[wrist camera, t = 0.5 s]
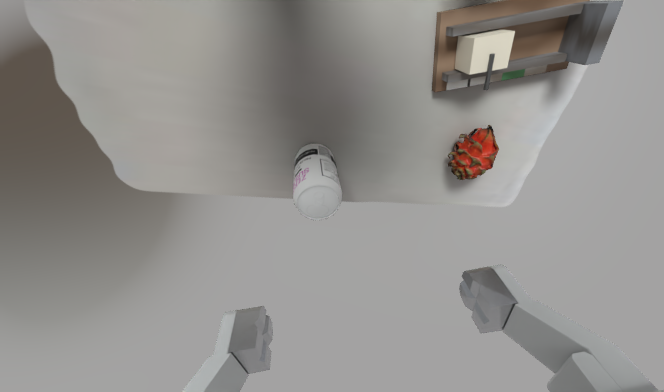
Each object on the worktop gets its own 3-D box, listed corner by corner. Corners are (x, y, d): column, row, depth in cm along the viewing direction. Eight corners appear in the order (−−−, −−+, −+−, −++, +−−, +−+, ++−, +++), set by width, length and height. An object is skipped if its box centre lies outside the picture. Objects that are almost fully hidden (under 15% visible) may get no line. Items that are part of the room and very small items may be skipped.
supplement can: (331, 177, 59) (340, 223, 46) (293, 176, 57) (292, 222, 45) (336, 143, 54) (347, 183, 42) (294, 140, 53) (293, 181, 41)
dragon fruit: (440, 168, 62) (468, 117, 57) (477, 184, 59) (509, 133, 55) (437, 174, 54) (468, 116, 50) (479, 193, 52) (516, 134, 47)
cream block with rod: (458, 35, 43) (476, 38, 39) (494, 28, 43) (517, 31, 39) (452, 84, 48) (468, 93, 43) (485, 78, 48) (505, 86, 43)
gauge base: (437, 12, 43) (460, 13, 37) (586, -15, 42) (634, -19, 36) (431, 90, 50) (450, 101, 44) (560, 66, 49) (596, 75, 43)
